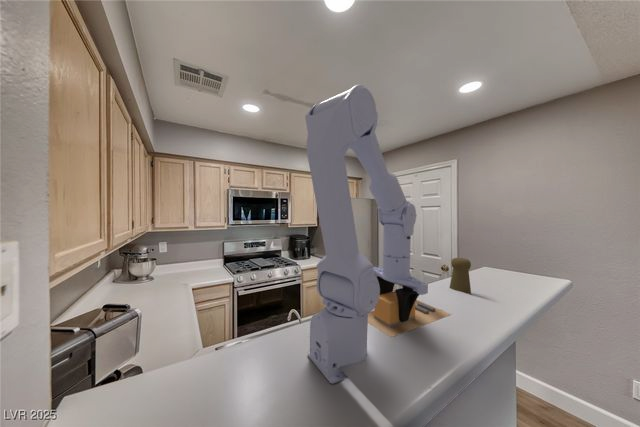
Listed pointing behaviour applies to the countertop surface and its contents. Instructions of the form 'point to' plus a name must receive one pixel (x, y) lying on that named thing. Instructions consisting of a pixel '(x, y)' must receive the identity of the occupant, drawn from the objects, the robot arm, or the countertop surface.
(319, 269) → the robot arm
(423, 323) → the pine board
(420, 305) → the graphite mark
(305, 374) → the countertop surface
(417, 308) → the graphite mark
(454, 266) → the cork
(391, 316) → the block
